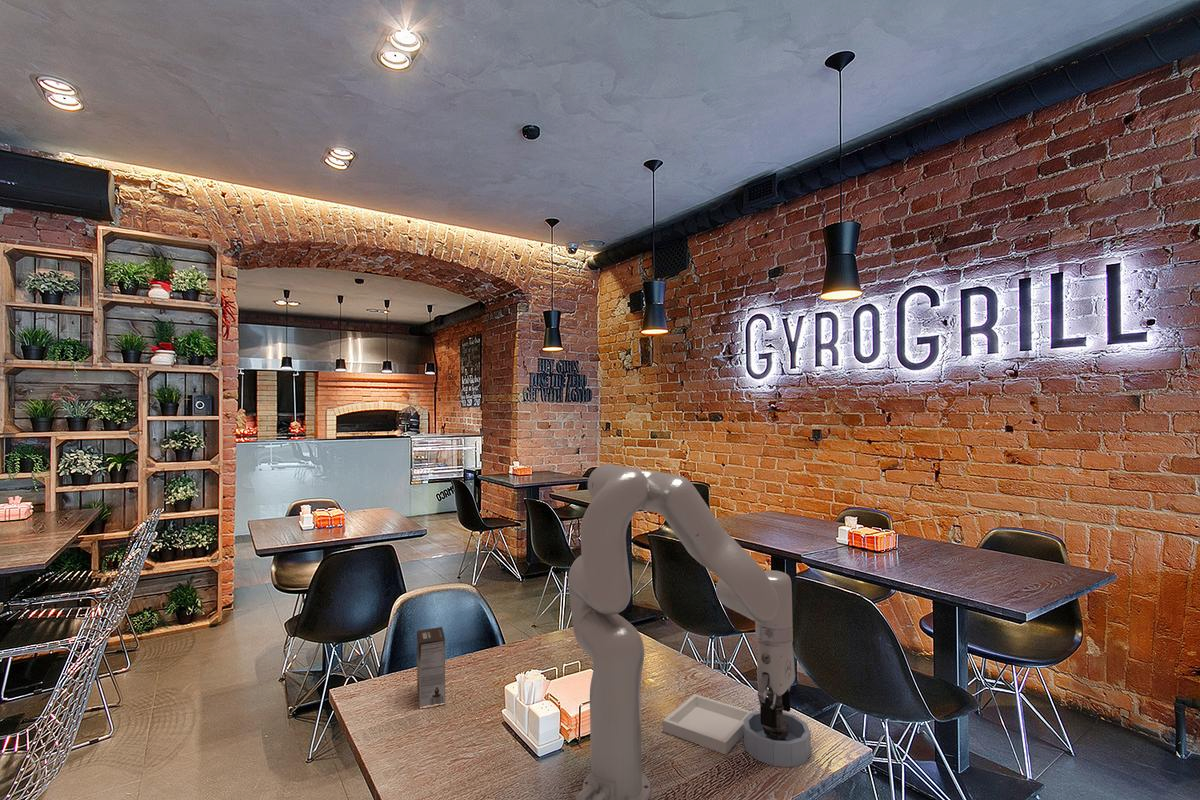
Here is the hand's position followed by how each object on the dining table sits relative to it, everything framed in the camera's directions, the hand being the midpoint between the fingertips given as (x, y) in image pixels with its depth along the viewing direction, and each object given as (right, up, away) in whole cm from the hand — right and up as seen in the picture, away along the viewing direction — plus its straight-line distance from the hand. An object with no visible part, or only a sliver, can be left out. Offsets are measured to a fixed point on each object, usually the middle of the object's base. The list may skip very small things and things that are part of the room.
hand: (775, 717), depth 120 cm
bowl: (0, -6, 0) cm, 6 cm away
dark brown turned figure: (0, -5, 0) cm, 5 cm away
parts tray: (-12, -7, +8) cm, 16 cm away
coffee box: (-79, -8, +23) cm, 83 cm away
